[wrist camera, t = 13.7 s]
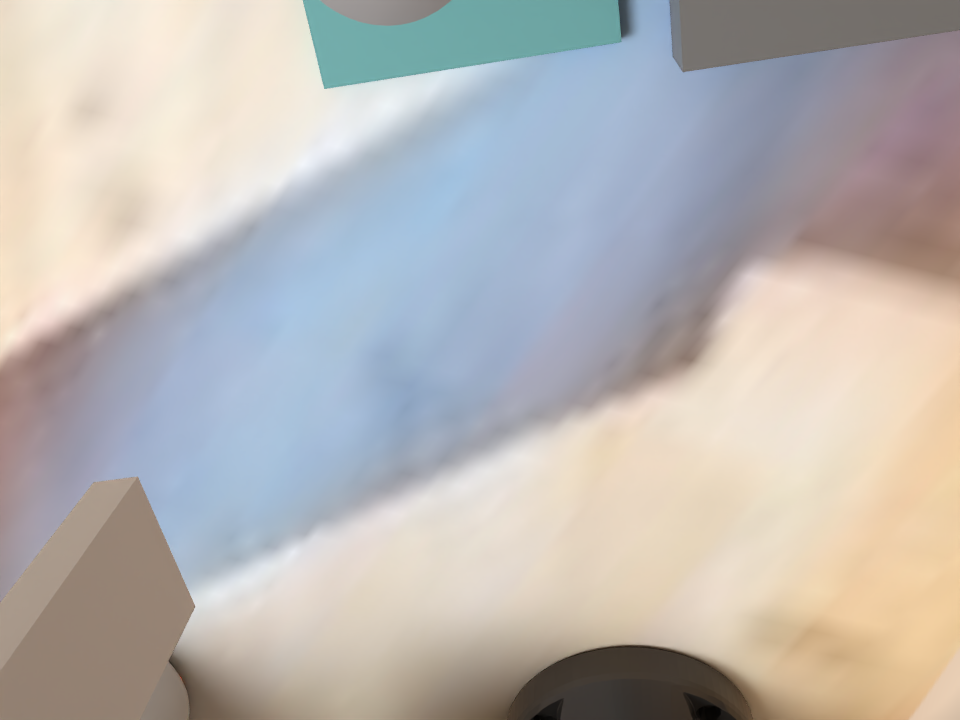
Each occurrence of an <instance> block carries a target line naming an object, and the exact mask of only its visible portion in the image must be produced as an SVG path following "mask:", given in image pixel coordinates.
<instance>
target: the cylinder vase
mask: <svg viewBox="0 0 960 720" xmlns="http://www.w3.org/2000/svg"><path fill="white" fill-rule="evenodd" d="M188 718H189V699H188V694H187V691H186V688H185V686H184V683H183V681H182V679H181V678H180V676H179V674H178V673H177V671H176V670H175V669H174V667H173V666H172V665H171V664H170V663H169V662H168V663H167V665H166V667H165V669H164V671H163V673H162V675H161V677H160V679H159V681H158V683H157V685H156V687H155V689H154V691H153V693H152V695H151V697H150V699H149V702H148V704H147V706H146V708H145V710H144V712H143V714H142V716H141V718H140V720H188Z"/></svg>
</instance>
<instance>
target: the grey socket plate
mask: <svg viewBox="0 0 960 720" xmlns="http://www.w3.org/2000/svg"><path fill="white" fill-rule="evenodd" d="M670 16H671V34H672V52H673V58H674V59H675V61H676V62H677V64H678V65H679V67H680V68H681V70H682V71H683V72H686V71H693V70H699V69H706V68H713V67H719V66H726V65H732V64H739V63H746V62H752V61H759V60H765V59H772V58H779V57H785V56H792V55H799V54H805V53H812V52H818V51H825V50H832V49H838V48H845V47H851V46H858V45H865V44H871V43H878V42H884V41H891V40H898V39H904V38H911V37H917V36H924V35H931V34H937V33H944V32H950V31H957V30H960V0H670Z"/></svg>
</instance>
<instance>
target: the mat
mask: <svg viewBox="0 0 960 720" xmlns="http://www.w3.org/2000/svg"><path fill="white" fill-rule="evenodd" d="M303 3H304V7H305V11H306V15H307V19H308V24H309V28H310V32H311V36H312V40H313V44H314V48H315V52H316V57H317V61H318V65H319V69H320V73H321V77H322V81H323V85H324V89H327V88H333V87H340V86H346V85H352V84H359V83H365V82H371V81H378V80H384V79H390V78H397V77H403V76H409V75H416V74H422V73H428V72H435V71H441V70H448V69H454V68H460V67H467V66H473V65H479V64H486V63H492V62H498V61H505V60H511V59H517V58H524V57H530V56H536V55H543V54H549V53H555V52H562V51H568V50H575V49H581V48H587V47H594V46H600V45H606V44H613V43H619V42H621V30H620V18H619V6H618V0H451V1H450V2H449V3H448V4H446V5H445V6H444V7H442V8H441V9H440V10H438V11H436V12H435V13H433V14H431V15H429V16H428V17H425V18H423V19H420V20H418V21H415V22H411V23H407V24H403V25H392V26H382V25H372V24H367V23H362V22H359V21H356V20H353V19H350V18H348V17H345V16H343V15H341V14H339V13H337V12H336V11H334V10H333V9H331V8H329V7H328V6H326V5H325V4H324V3H323V2H321V1H320V0H303Z"/></svg>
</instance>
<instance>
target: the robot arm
mask: <svg viewBox="0 0 960 720" xmlns="http://www.w3.org/2000/svg"><path fill="white" fill-rule="evenodd" d="M194 608H195V605H194V602H193V600H192V598H191V596H190V593H189V591H188V589H187V587H186V584H185V582H184V580H183V578H182V575H181V573H180V571H179V569H178V566H177V564H176V562H175V560H174V557H173V555H172V553H171V551H170V548H169V546H168V544H167V542H166V539H165V537H164V535H163V533H162V530H161V528H160V526H159V524H158V521H157V519H156V517H155V515H154V512H153V510H152V508H151V505H150V503H149V501H148V499H147V496H146V494H145V492H144V490H143V487H142V485H141V483H140V481H139V478H138V477H131V478H123V479H116V480H108V481H101V482H94V483H93V484H92V485H91V487H90V488H89V489H88V490H87V492H86V493H85V494H84V496H83V497H82V498H81V499H80V501H79V502H78V503H77V505H76V506H75V507H74V508H73V510H72V511H71V512H70V514H69V515H68V516H67V517H66V519H65V520H64V521H63V523H62V524H61V525H60V527H59V528H58V529H57V530H56V532H55V533H54V534H53V536H52V537H51V538H50V539H49V541H48V542H47V543H46V545H45V546H44V547H43V548H42V550H41V551H40V552H39V554H38V555H37V556H36V557H35V559H34V560H33V561H32V563H31V564H30V565H29V566H28V568H27V569H26V570H25V572H24V573H23V574H22V575H21V577H20V578H19V579H18V581H17V582H16V583H15V585H14V586H13V587H12V588H11V590H10V591H9V592H8V594H7V595H6V596H5V597H4V599H3V600H2V601H1V603H0V720H140V718H141V716H142V714H143V712H144V710H145V708H146V706H147V704H148V702H149V699H150V697H151V695H152V693H153V691H154V689H155V687H156V685H157V683H158V681H159V679H160V677H161V675H162V673H163V671H164V669H165V667H166V665H167V663H168V661H169V659H170V657H171V655H172V653H173V651H174V649H175V647H176V645H177V643H178V641H179V639H180V637H181V635H182V633H183V631H184V629H185V626H186V624H187V622H188V620H189V618H190V616H191V614H192V612H193V610H194ZM508 720H753V718H752V715H751V711H750V709H749V706H748V704H747V702H746V700H745V699H744V697H743V695H742V694H741V693H740V691H739V690H738V689H737V688H736V687H735V686H734V685H733V684H732V683H731V682H730V681H729V680H728V679H727V678H726V677H724V676H723V675H722V674H720V673H719V672H718V671H716V670H714V669H713V668H711V667H709V666H707V665H705V664H704V663H702V662H699V661H697V660H695V659H692V658H689V657H687V656H684V655H680V654H677V653H673V652H669V651H664V650H658V649H651V648H639V647H621V648H608V649H601V650H595V651H590V652H586V653H582V654H579V655H576V656H573V657H570V658H567V659H565V660H562V661H560V662H558V663H556V664H554V665H552V666H550V667H548V668H547V669H545V670H543V671H542V672H540V673H539V674H538V675H536V676H535V677H534V678H533V679H532V680H530V681H529V682H528V683H527V684H526V685H525V686H524V687H523V689H522V690H521V691H520V692H519V694H518V695H517V697H516V698H515V700H514V702H513V704H512V706H511V708H510V711H509V715H508Z"/></svg>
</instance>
